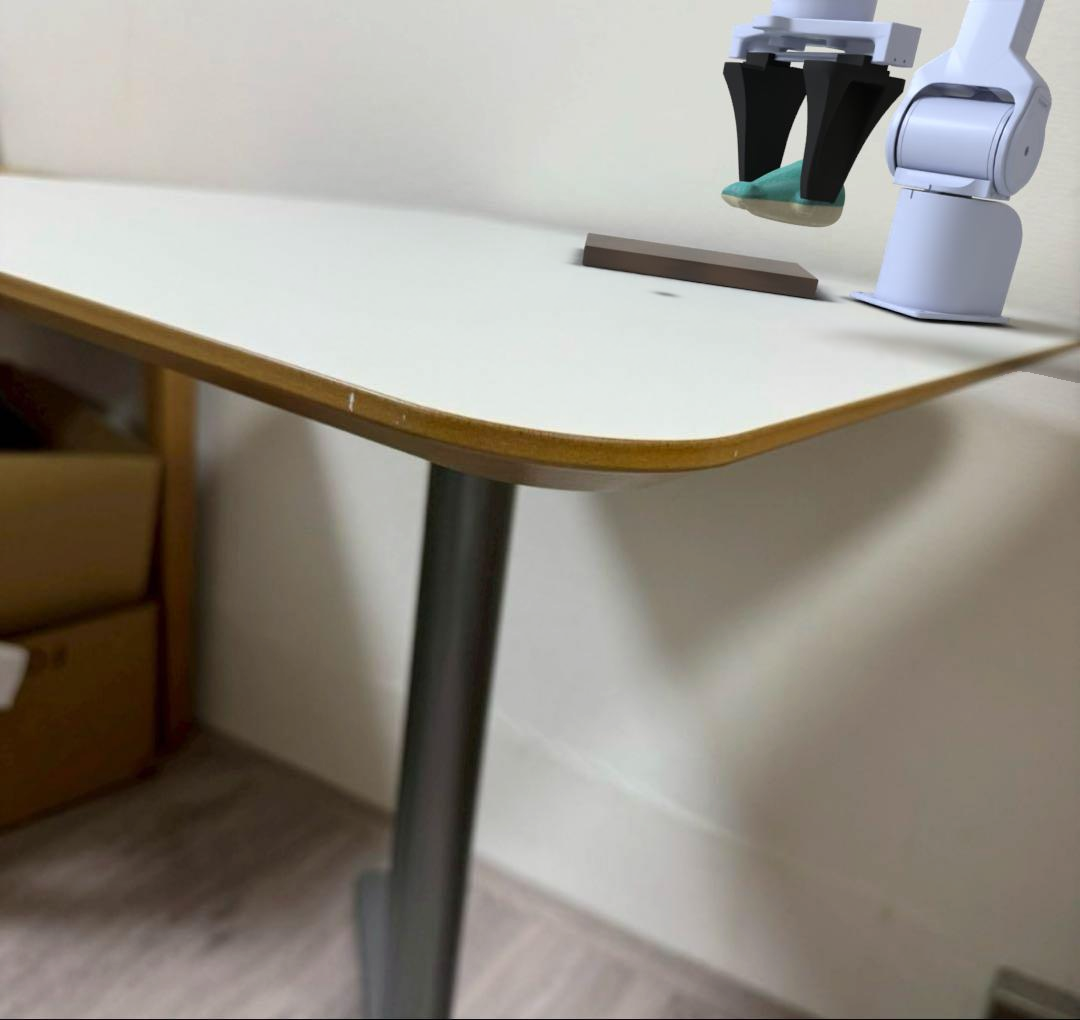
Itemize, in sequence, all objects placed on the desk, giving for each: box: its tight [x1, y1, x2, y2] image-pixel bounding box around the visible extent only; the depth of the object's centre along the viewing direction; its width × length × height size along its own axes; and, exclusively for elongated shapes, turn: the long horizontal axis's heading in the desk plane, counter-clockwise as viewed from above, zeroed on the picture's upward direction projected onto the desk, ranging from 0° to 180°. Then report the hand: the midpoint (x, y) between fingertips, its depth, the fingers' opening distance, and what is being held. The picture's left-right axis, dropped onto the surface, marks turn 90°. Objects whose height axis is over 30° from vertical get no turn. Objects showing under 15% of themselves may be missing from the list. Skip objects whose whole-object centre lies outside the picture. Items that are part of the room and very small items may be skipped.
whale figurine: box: [720, 158, 846, 228], centre depth 63 cm, size 6×7×4 cm
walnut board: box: [581, 232, 819, 300], centre depth 85 cm, size 18×10×2 cm, turn 86°
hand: (784, 194), depth 63 cm, fingers closed on whale figurine, 6 cm apart
